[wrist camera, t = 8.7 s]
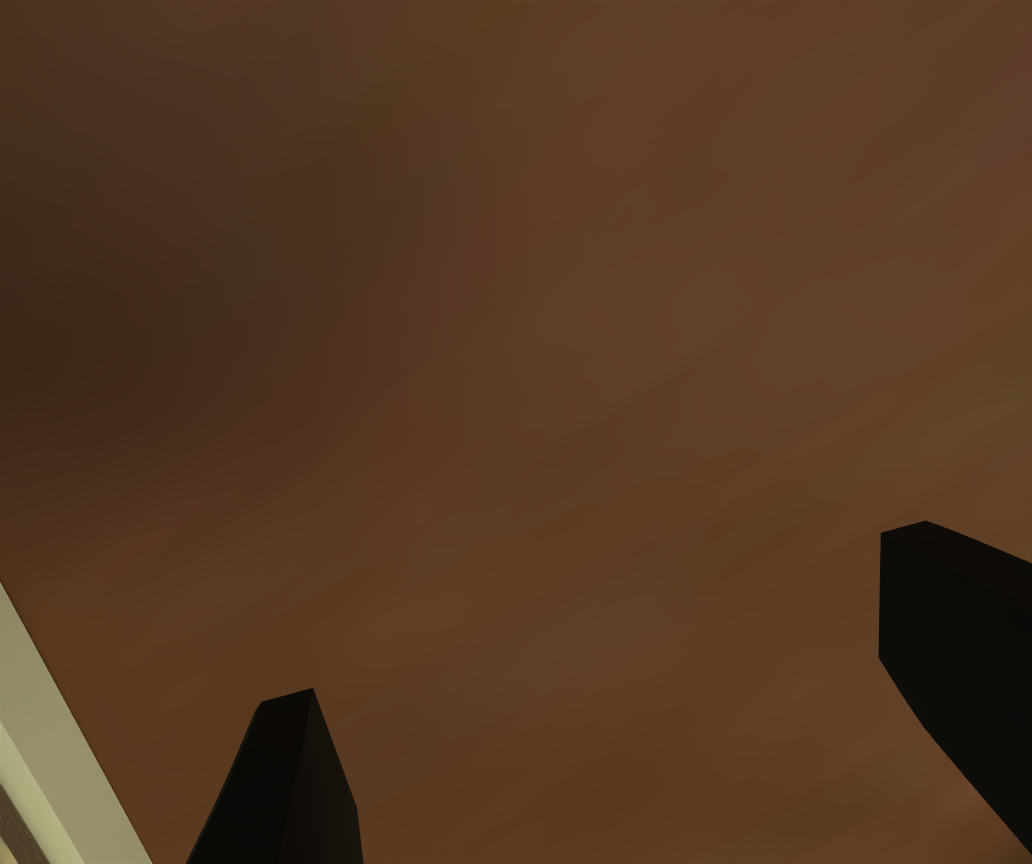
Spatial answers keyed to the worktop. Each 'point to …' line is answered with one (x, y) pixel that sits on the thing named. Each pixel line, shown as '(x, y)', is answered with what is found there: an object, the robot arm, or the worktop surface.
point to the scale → (54, 762)
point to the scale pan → (16, 836)
